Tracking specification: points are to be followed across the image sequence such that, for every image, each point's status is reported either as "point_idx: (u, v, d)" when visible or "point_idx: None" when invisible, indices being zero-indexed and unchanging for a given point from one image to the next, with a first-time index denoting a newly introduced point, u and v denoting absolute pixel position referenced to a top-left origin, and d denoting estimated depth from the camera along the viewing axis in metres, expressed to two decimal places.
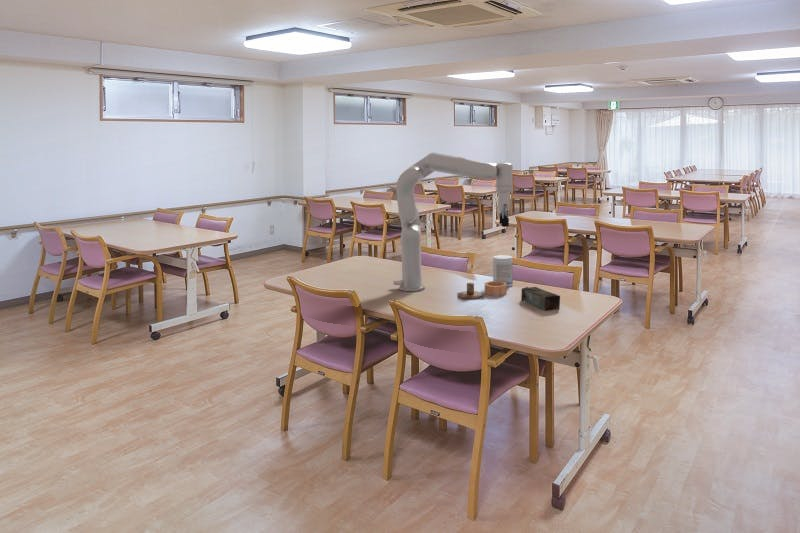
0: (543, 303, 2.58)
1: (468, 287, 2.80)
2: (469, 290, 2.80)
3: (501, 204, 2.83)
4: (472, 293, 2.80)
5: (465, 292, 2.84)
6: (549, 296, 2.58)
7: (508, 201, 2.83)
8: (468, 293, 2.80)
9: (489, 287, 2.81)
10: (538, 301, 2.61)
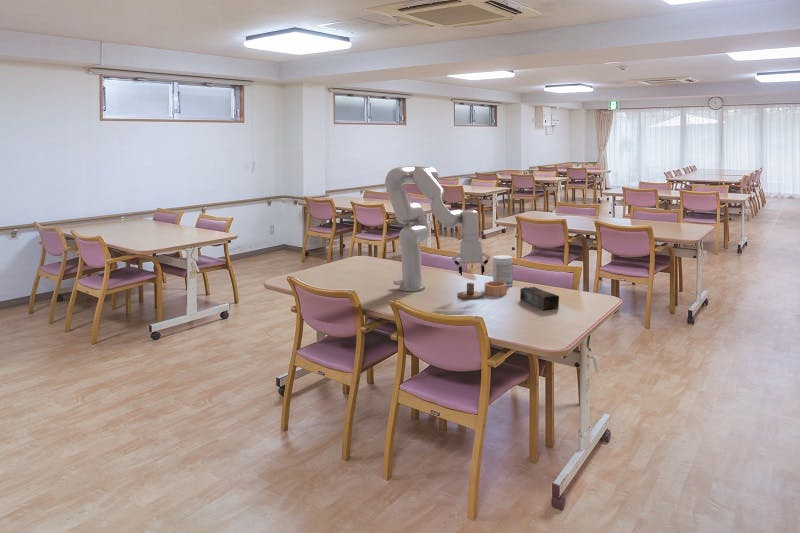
0: (542, 303, 2.58)
1: (468, 287, 2.80)
2: (469, 290, 2.80)
3: (482, 252, 2.75)
4: (472, 293, 2.80)
5: (465, 292, 2.84)
6: (548, 296, 2.57)
7: None
8: (468, 293, 2.80)
9: (489, 287, 2.81)
10: (537, 302, 2.60)
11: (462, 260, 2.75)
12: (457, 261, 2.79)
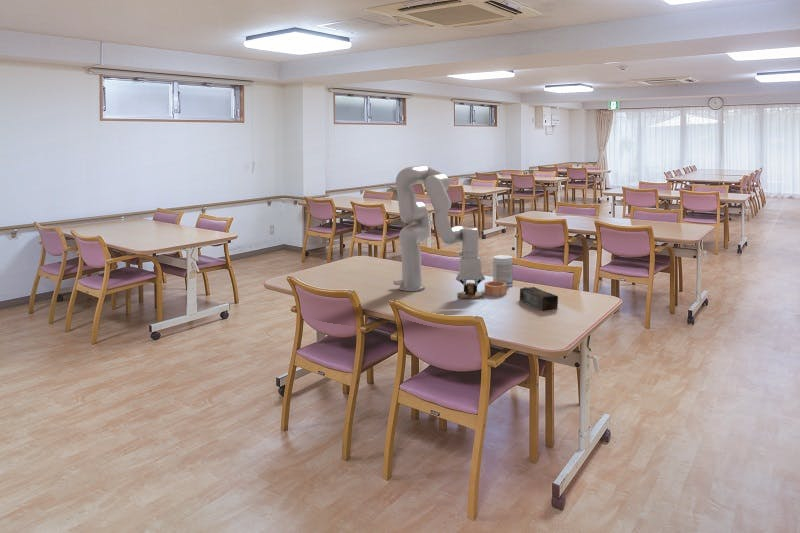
0: (541, 303, 2.57)
1: (468, 287, 2.80)
2: (469, 290, 2.80)
3: (481, 269, 2.77)
4: (472, 293, 2.80)
5: None
6: (547, 296, 2.57)
7: None
8: (468, 293, 2.80)
9: (489, 287, 2.81)
10: (536, 302, 2.60)
11: (461, 277, 2.77)
12: (462, 280, 2.81)
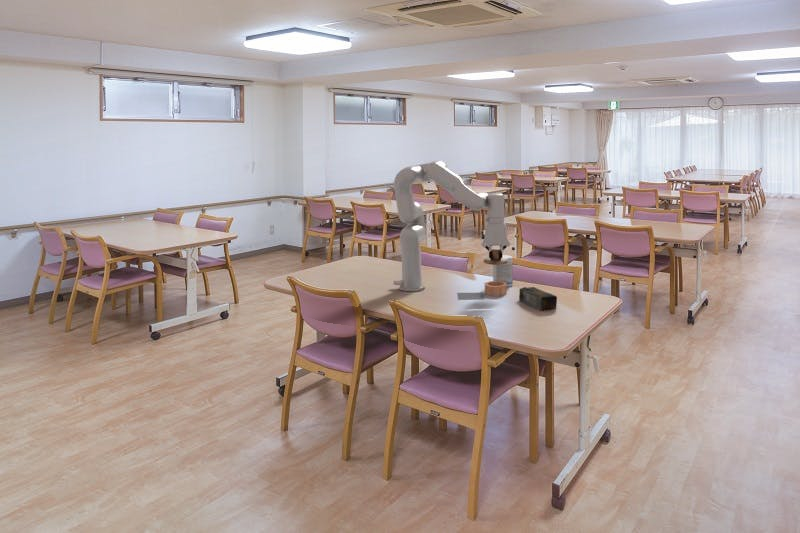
0: (539, 303, 2.57)
1: (493, 253, 2.80)
2: (494, 256, 2.80)
3: (506, 235, 2.78)
4: (497, 259, 2.81)
5: None
6: (546, 296, 2.57)
7: None
8: (493, 259, 2.81)
9: (489, 287, 2.81)
10: (535, 302, 2.60)
11: (487, 242, 2.78)
12: (487, 246, 2.82)
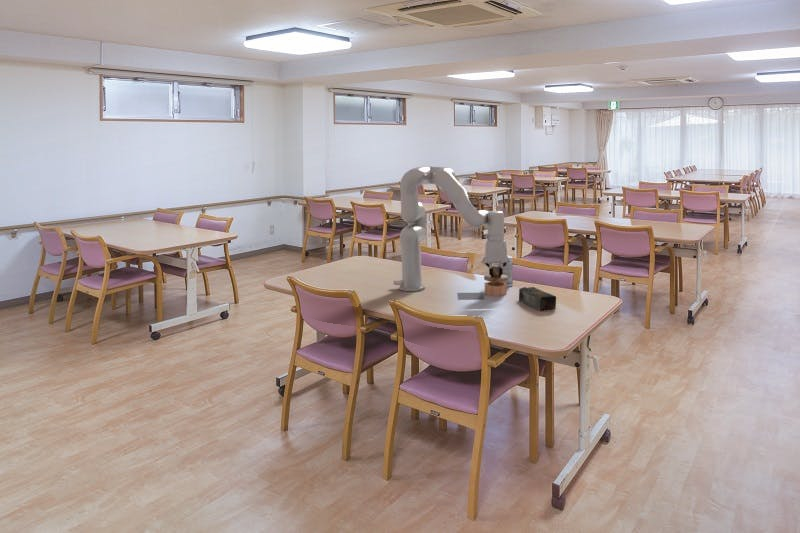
0: (539, 303, 2.57)
1: (494, 270, 2.82)
2: (494, 273, 2.82)
3: (506, 252, 2.79)
4: (498, 276, 2.82)
5: (490, 275, 2.87)
6: (545, 296, 2.57)
7: None
8: (493, 276, 2.83)
9: (489, 287, 2.81)
10: (534, 302, 2.60)
11: (487, 260, 2.80)
12: None
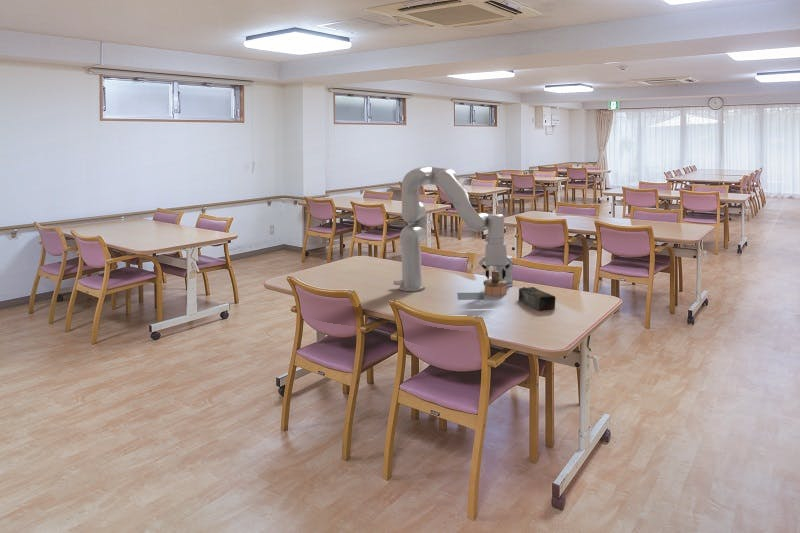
0: (538, 303, 2.57)
1: (493, 275, 2.83)
2: (494, 278, 2.83)
3: (506, 255, 2.80)
4: (497, 281, 2.83)
5: (490, 280, 2.87)
6: (544, 296, 2.57)
7: None
8: (493, 281, 2.83)
9: (489, 287, 2.81)
10: (534, 302, 2.60)
11: (487, 262, 2.80)
12: (484, 265, 2.84)
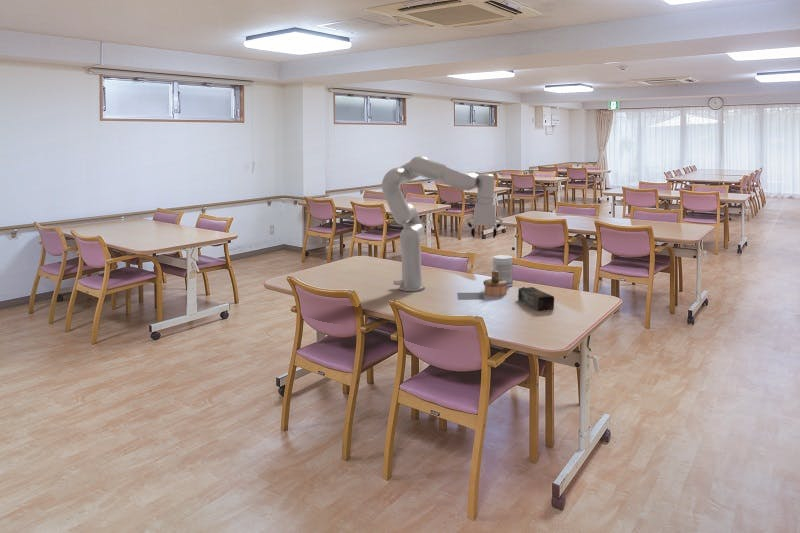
0: (536, 303, 2.57)
1: (493, 275, 2.83)
2: (494, 278, 2.83)
3: (495, 215, 2.80)
4: (497, 281, 2.83)
5: (490, 280, 2.87)
6: (543, 297, 2.57)
7: None
8: (493, 281, 2.83)
9: (489, 287, 2.81)
10: (533, 302, 2.60)
11: (475, 222, 2.81)
12: (470, 223, 2.85)
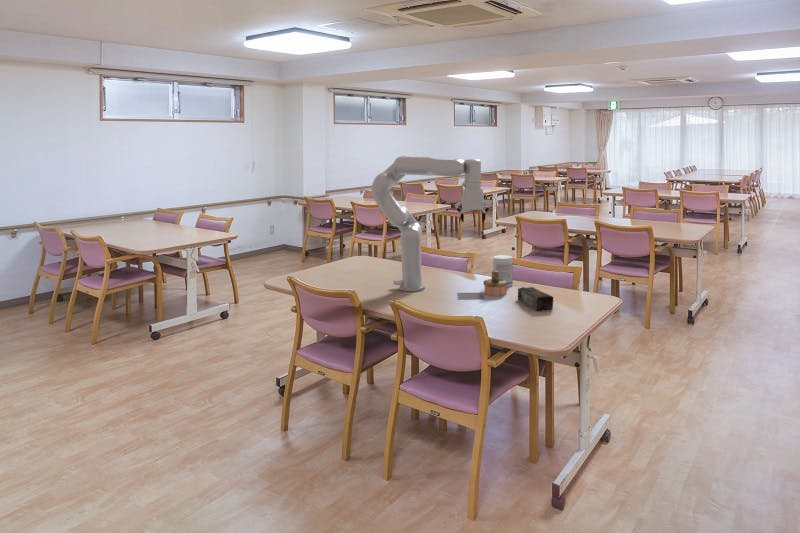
0: (535, 303, 2.57)
1: (493, 275, 2.83)
2: (494, 278, 2.83)
3: (483, 199, 2.85)
4: (497, 281, 2.83)
5: (490, 280, 2.87)
6: (542, 297, 2.57)
7: None
8: (493, 281, 2.83)
9: (489, 287, 2.81)
10: (532, 302, 2.60)
11: (464, 207, 2.85)
12: None
